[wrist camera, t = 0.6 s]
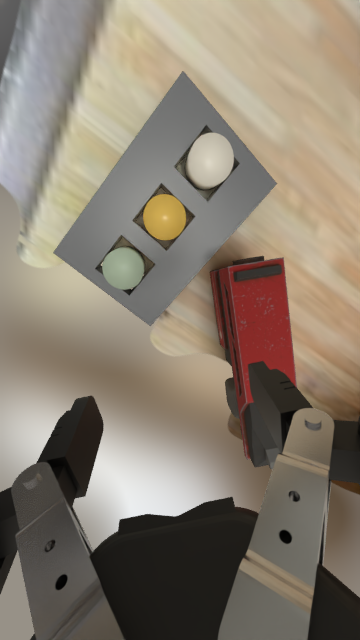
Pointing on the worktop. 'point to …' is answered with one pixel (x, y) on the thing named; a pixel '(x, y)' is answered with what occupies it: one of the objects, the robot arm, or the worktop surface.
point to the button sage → (123, 267)
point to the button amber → (164, 217)
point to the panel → (160, 171)
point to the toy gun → (253, 340)
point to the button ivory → (209, 161)
